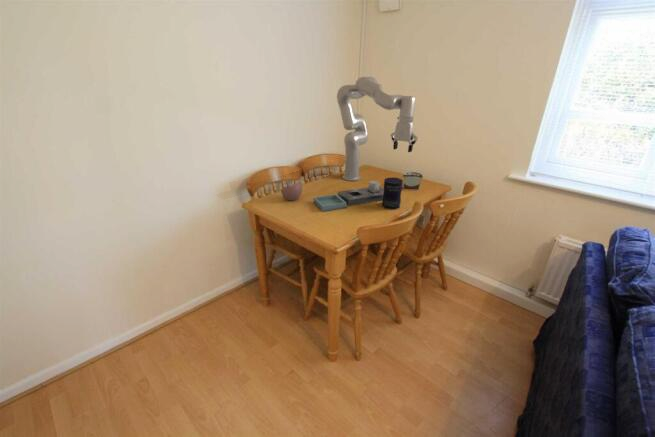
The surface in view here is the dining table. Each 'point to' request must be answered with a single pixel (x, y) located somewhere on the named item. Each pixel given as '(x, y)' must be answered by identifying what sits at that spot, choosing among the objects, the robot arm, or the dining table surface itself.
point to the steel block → (373, 187)
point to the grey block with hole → (360, 196)
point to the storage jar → (392, 193)
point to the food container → (412, 180)
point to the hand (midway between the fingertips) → (402, 150)
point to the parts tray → (329, 202)
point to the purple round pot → (291, 191)
